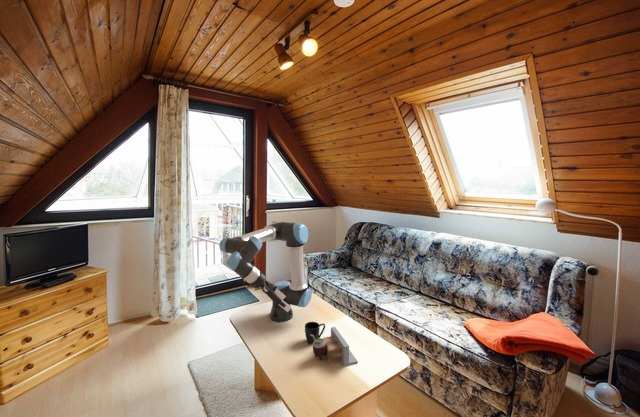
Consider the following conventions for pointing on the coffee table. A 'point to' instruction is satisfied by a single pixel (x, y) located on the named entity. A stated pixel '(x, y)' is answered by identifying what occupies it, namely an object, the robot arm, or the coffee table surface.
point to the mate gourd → (319, 347)
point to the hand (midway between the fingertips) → (286, 303)
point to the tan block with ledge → (333, 350)
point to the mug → (313, 331)
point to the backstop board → (343, 348)
